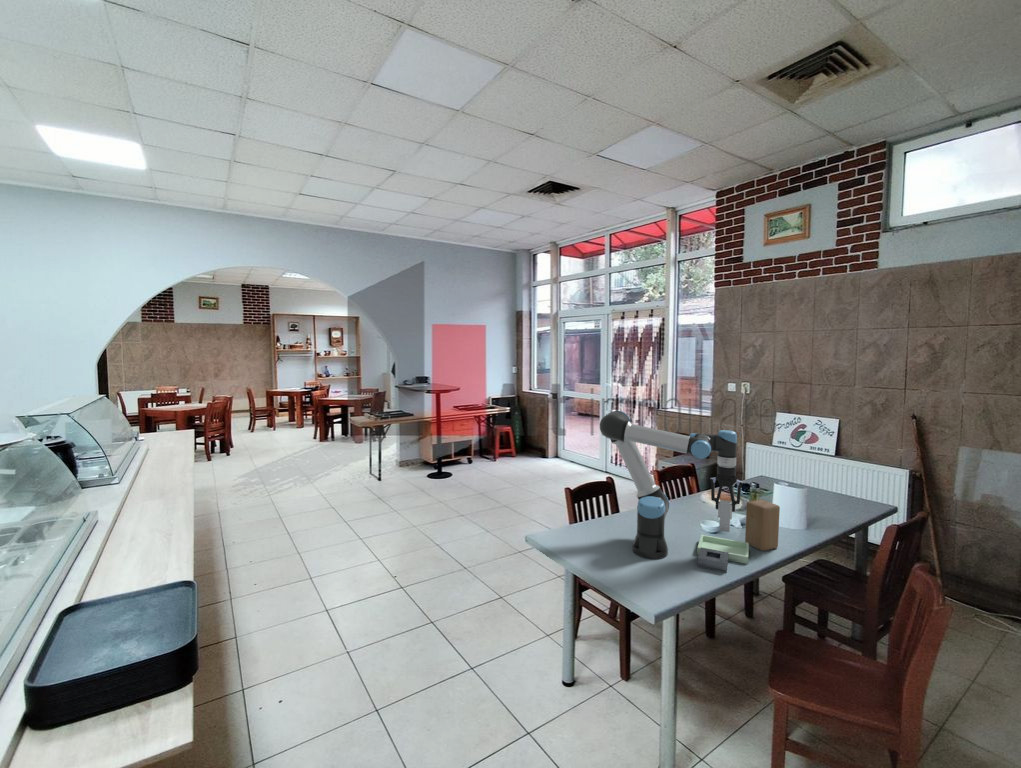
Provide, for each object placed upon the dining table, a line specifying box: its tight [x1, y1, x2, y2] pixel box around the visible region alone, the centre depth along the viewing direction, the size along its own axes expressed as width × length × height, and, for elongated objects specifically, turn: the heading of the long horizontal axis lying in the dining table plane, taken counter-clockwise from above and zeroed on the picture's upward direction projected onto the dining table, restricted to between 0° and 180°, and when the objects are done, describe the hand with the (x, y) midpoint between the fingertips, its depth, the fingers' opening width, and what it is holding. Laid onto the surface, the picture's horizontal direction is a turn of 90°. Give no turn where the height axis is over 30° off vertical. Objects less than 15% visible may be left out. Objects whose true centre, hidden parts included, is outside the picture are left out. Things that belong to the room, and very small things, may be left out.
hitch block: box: [697, 547, 729, 573], centre depth 197 cm, size 11×11×4 cm
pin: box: [718, 494, 732, 533], centre depth 207 cm, size 5×5×15 cm
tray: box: [696, 534, 750, 565], centre depth 208 cm, size 20×16×3 cm
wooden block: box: [744, 499, 781, 552], centre depth 214 cm, size 10×10×20 cm
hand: (724, 517), depth 207 cm, fingers closed on pin, 4 cm apart
